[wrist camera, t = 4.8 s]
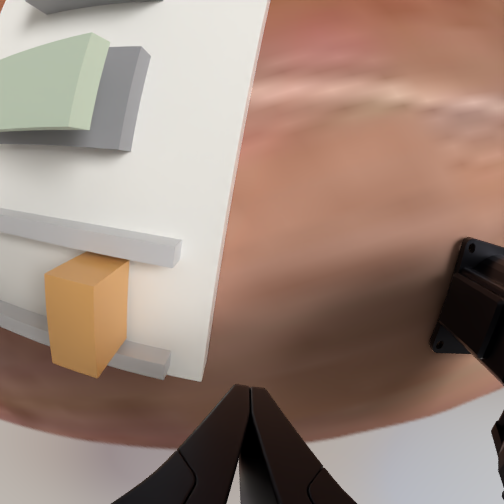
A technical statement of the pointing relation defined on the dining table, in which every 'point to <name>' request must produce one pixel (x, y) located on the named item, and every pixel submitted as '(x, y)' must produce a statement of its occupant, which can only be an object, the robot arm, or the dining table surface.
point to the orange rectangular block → (87, 311)
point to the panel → (133, 168)
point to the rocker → (52, 84)
